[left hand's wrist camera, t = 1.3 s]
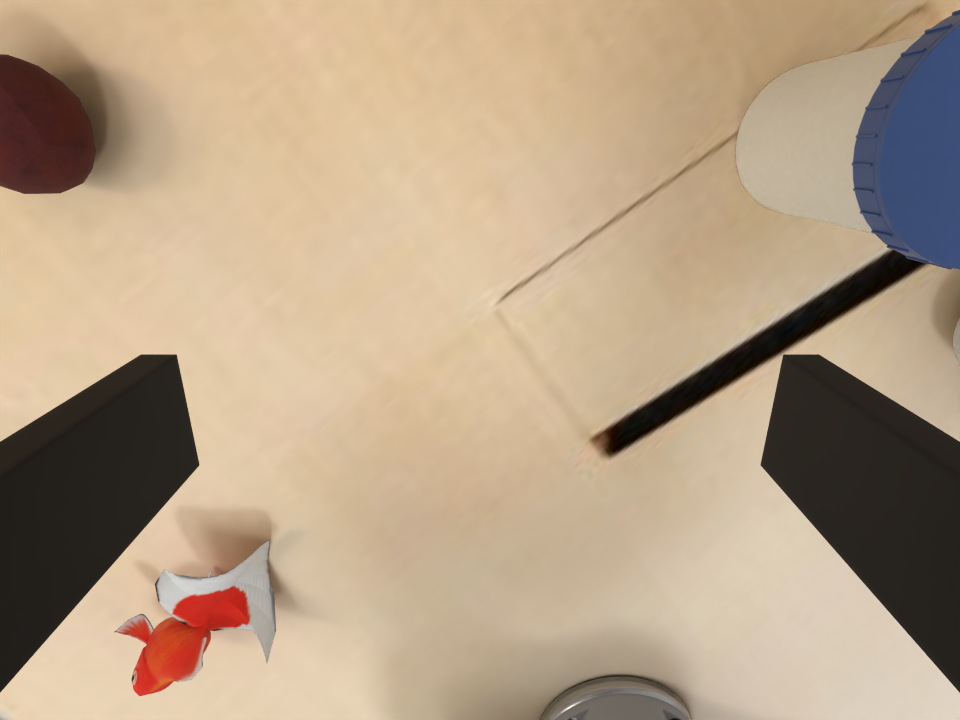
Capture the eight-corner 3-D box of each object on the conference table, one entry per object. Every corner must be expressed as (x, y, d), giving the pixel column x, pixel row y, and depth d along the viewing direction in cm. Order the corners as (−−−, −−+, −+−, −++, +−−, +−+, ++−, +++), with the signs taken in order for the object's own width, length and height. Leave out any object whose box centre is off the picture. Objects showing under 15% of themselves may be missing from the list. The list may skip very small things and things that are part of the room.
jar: (779, 241, 39) (946, 295, 25) (708, 133, 36) (849, 126, 22) (903, 149, 37) (1161, 152, 23) (836, 27, 34) (1080, -53, 20)
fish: (57, 608, 44) (49, 718, 37) (227, 479, 48) (253, 555, 40) (156, 659, 51) (167, 761, 43) (300, 542, 54) (333, 617, 47)
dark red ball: (53, 37, 34) (-49, 12, 28) (146, 150, 37) (73, 151, 30) (-26, 110, 36) (-140, 103, 29) (68, 214, 38) (-18, 229, 31)
